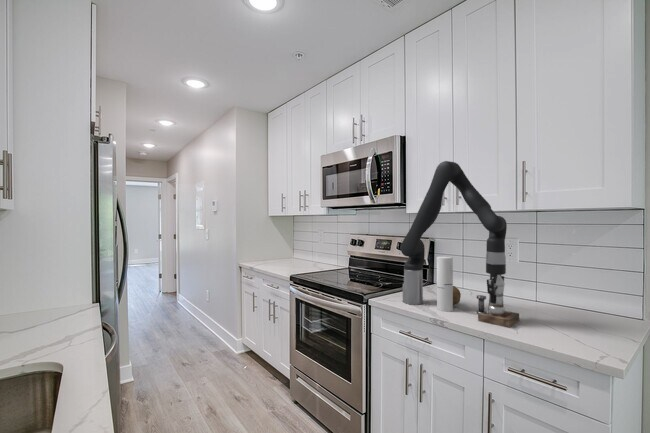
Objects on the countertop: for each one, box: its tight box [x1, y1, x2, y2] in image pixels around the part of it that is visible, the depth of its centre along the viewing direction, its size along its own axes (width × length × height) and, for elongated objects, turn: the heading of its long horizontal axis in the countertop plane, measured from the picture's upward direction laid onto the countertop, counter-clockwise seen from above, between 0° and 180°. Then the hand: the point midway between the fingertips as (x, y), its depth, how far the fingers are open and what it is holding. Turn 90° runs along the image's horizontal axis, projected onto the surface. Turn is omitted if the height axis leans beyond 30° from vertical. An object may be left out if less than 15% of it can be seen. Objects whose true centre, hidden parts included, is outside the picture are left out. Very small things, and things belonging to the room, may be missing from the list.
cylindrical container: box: [436, 255, 454, 312], centre depth 156 cm, size 7×7×25 cm
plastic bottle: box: [487, 275, 506, 317], centre depth 139 cm, size 6×7×20 cm
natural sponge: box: [453, 285, 462, 307], centre depth 163 cm, size 9×9×10 cm
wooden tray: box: [477, 310, 520, 329], centre depth 139 cm, size 12×13×3 cm
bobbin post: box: [476, 294, 487, 315], centre depth 149 cm, size 4×4×8 cm
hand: (495, 301), depth 139 cm, fingers closed on plastic bottle, 5 cm apart
